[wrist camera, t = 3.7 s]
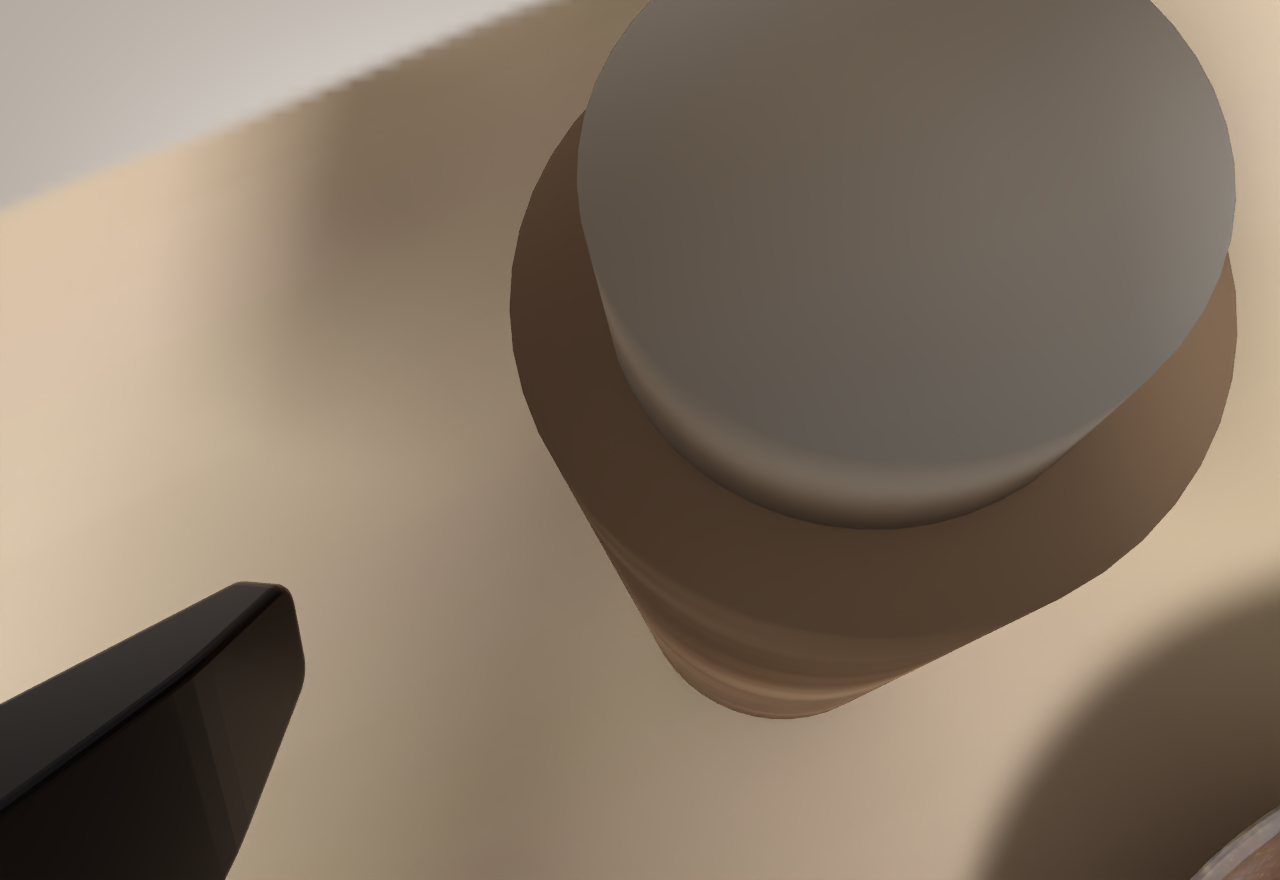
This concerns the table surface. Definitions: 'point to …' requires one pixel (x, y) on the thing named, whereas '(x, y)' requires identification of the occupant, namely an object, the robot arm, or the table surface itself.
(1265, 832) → the plant saucer
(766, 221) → the pepper mill
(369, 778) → the table surface
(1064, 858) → the table surface
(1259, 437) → the table surface
